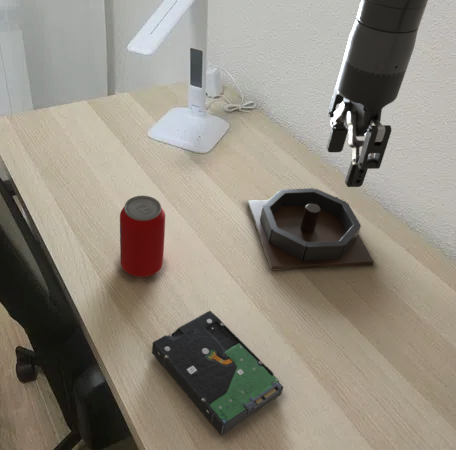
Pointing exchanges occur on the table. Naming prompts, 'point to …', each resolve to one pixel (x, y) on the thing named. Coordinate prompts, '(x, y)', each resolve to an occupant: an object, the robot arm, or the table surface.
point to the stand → (307, 236)
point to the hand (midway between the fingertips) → (342, 167)
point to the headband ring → (299, 246)
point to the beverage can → (142, 236)
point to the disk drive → (217, 371)
